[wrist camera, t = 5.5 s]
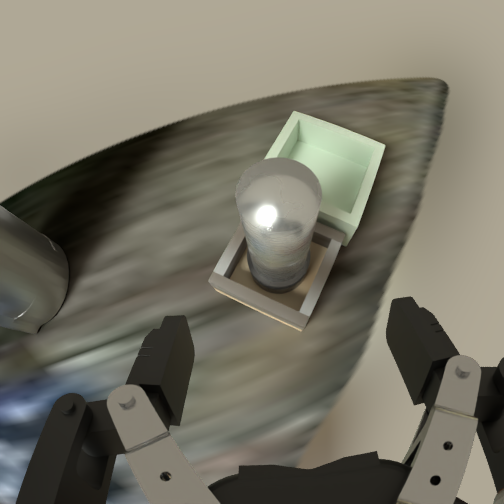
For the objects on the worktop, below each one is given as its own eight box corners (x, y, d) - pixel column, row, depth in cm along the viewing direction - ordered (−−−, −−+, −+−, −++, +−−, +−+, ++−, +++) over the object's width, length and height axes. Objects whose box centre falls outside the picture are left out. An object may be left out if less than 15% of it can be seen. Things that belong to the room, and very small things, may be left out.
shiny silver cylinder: (292, 303, 23) (305, 255, 12) (239, 278, 24) (210, 214, 13) (316, 252, 24) (341, 173, 13) (265, 230, 25) (255, 141, 14)
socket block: (301, 331, 23) (304, 327, 20) (216, 290, 25) (207, 281, 22) (337, 248, 25) (345, 234, 22) (257, 214, 27) (255, 196, 24)
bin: (346, 246, 25) (357, 227, 21) (254, 207, 27) (250, 182, 23) (374, 170, 27) (385, 145, 23) (292, 138, 29) (293, 110, 25)
